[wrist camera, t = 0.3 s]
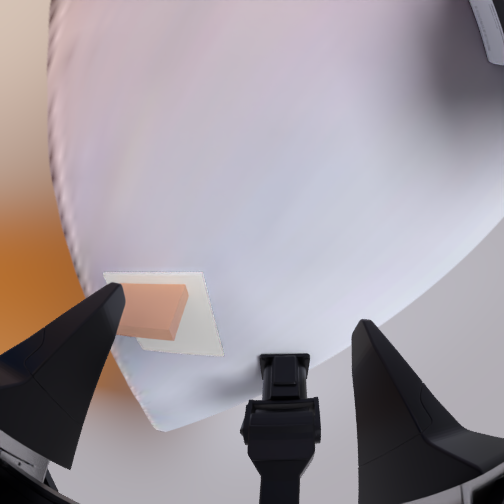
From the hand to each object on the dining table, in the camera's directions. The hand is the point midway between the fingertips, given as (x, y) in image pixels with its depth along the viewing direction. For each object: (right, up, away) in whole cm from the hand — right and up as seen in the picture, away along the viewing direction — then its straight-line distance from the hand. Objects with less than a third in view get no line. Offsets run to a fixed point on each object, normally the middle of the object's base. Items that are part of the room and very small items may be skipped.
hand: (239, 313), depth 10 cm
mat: (-10, -6, +22) cm, 25 cm away
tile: (-10, -2, +19) cm, 21 cm away
